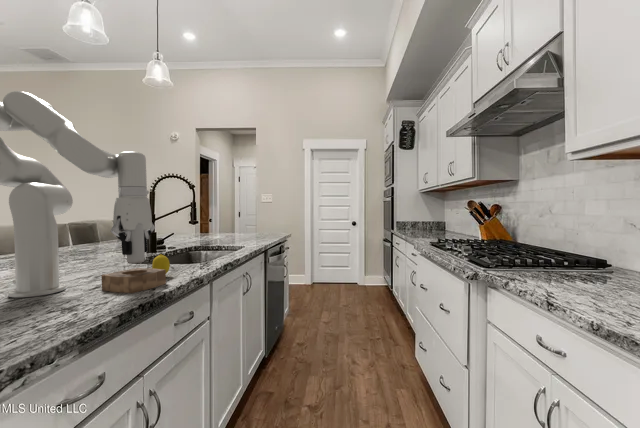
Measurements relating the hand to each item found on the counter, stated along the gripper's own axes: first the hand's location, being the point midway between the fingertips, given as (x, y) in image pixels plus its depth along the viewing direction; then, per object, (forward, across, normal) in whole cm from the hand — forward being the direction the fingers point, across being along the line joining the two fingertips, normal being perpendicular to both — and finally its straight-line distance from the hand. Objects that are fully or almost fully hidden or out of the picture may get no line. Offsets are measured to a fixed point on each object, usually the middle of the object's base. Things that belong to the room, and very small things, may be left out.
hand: (135, 252), depth 99 cm
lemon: (+11, -14, -4) cm, 18 cm away
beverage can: (+3, 0, 0) cm, 3 cm away
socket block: (+10, 0, 0) cm, 10 cm away
